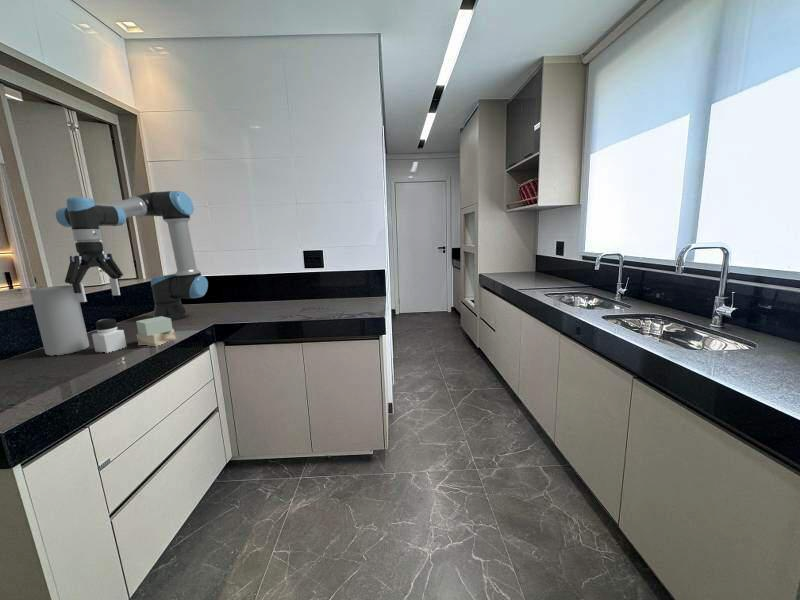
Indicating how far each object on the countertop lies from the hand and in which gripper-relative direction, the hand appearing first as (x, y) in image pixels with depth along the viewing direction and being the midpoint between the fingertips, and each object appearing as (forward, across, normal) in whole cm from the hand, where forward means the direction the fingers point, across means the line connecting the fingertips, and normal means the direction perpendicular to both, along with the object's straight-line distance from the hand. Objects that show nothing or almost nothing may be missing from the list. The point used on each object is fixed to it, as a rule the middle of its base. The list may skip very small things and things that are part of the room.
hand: (100, 298), depth 130 cm
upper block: (+16, +8, -13) cm, 22 cm away
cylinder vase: (+21, -1, +17) cm, 27 cm away
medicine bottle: (+21, 0, 0) cm, 21 cm away
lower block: (+21, +8, -13) cm, 26 cm away
